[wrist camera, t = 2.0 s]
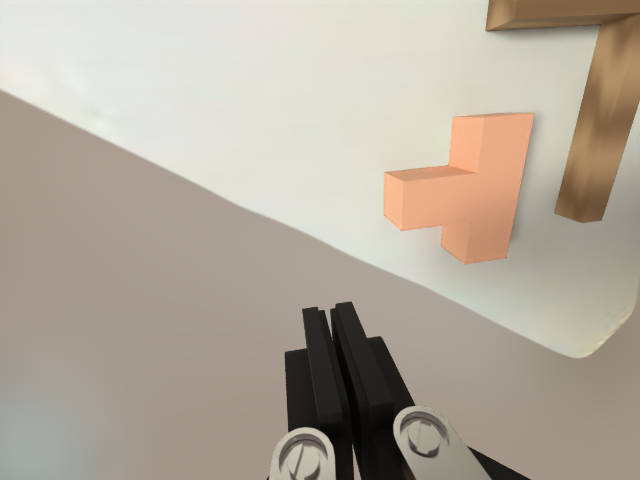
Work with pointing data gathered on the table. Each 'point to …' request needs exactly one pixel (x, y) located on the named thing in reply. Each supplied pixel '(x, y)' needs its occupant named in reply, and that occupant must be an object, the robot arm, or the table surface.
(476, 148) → the t block
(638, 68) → the walnut fence
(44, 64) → the table surface
